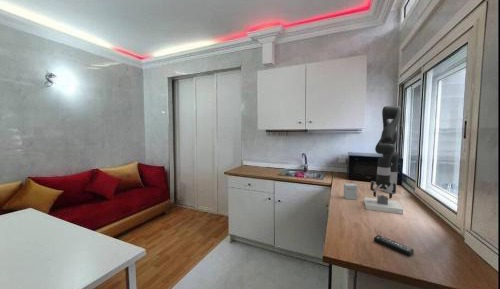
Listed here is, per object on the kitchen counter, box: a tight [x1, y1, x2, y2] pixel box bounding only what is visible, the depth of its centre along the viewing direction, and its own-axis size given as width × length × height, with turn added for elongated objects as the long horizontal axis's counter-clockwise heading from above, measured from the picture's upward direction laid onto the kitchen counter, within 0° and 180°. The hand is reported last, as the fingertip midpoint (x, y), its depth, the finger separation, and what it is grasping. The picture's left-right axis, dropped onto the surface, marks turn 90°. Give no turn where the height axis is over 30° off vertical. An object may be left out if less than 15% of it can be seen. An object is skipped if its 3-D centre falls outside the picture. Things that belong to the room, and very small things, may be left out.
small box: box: [343, 183, 358, 200], centre depth 163 cm, size 8×6×10 cm
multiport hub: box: [373, 234, 415, 257], centre depth 97 cm, size 4×14×2 cm, turn 33°
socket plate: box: [363, 197, 404, 215], centre depth 144 cm, size 16×20×4 cm
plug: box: [376, 194, 389, 205], centre depth 144 cm, size 5×5×8 cm
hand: (382, 197), depth 144 cm, fingers open, 8 cm apart
